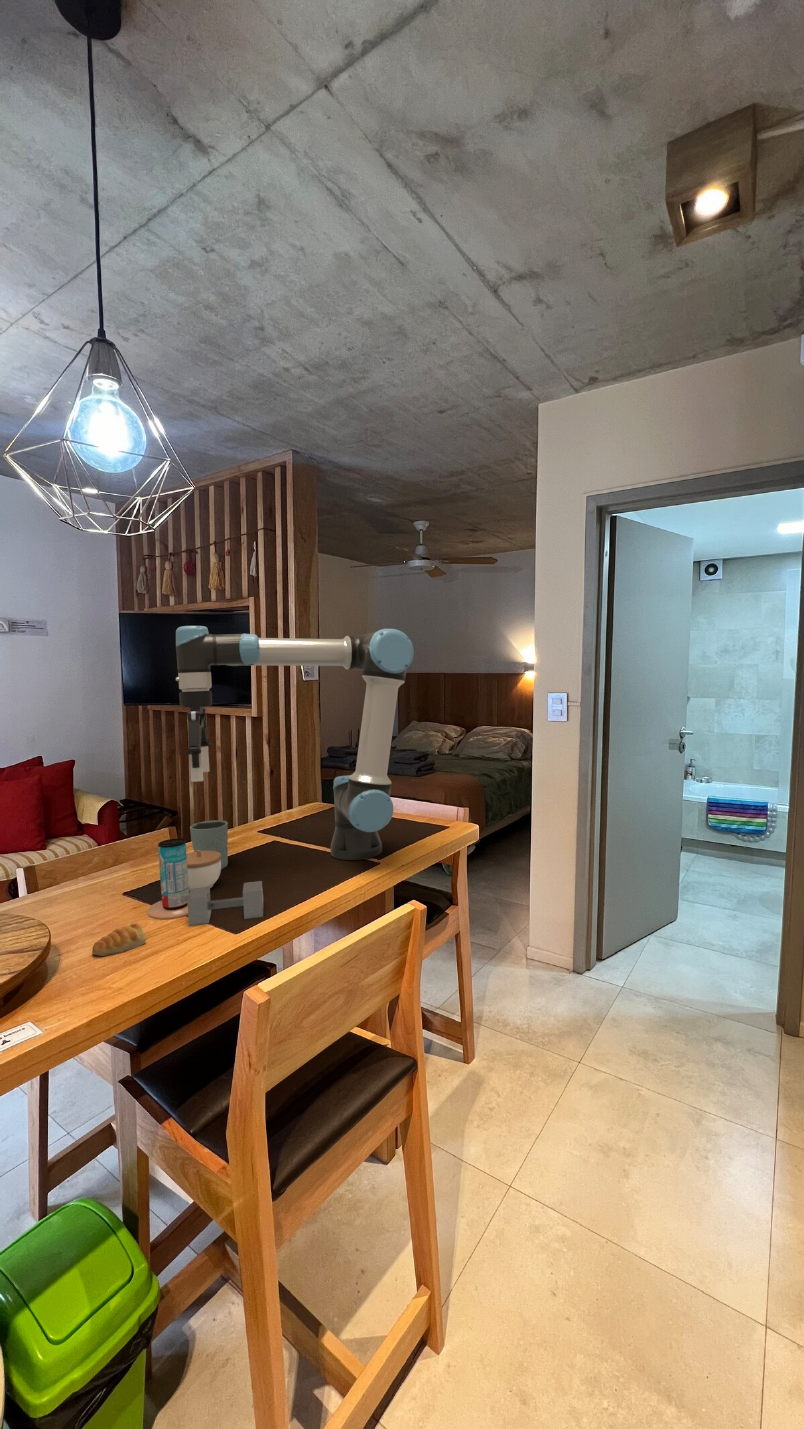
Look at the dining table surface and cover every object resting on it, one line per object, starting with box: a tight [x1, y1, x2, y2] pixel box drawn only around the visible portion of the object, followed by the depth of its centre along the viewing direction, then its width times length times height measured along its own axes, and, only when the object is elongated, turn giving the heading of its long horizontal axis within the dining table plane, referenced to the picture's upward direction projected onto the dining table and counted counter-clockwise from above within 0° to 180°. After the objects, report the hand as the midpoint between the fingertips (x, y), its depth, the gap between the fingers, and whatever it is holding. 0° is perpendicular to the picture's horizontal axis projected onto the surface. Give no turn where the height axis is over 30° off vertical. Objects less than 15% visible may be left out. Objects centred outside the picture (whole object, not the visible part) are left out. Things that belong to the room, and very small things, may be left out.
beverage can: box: [157, 838, 190, 910], centre depth 135 cm, size 6×6×15 cm
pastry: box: [91, 922, 147, 957], centre depth 117 cm, size 9×7×4 cm
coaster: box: [147, 899, 188, 920], centre depth 136 cm, size 12×12×1 cm
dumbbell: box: [187, 880, 264, 926], centre depth 132 cm, size 16×9×6 cm, turn 102°
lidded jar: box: [186, 850, 222, 891], centre depth 149 cm, size 11×11×9 cm
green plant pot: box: [189, 819, 229, 870], centre depth 165 cm, size 10×10×12 cm
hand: (200, 776), depth 145 cm, fingers open, 13 cm apart
